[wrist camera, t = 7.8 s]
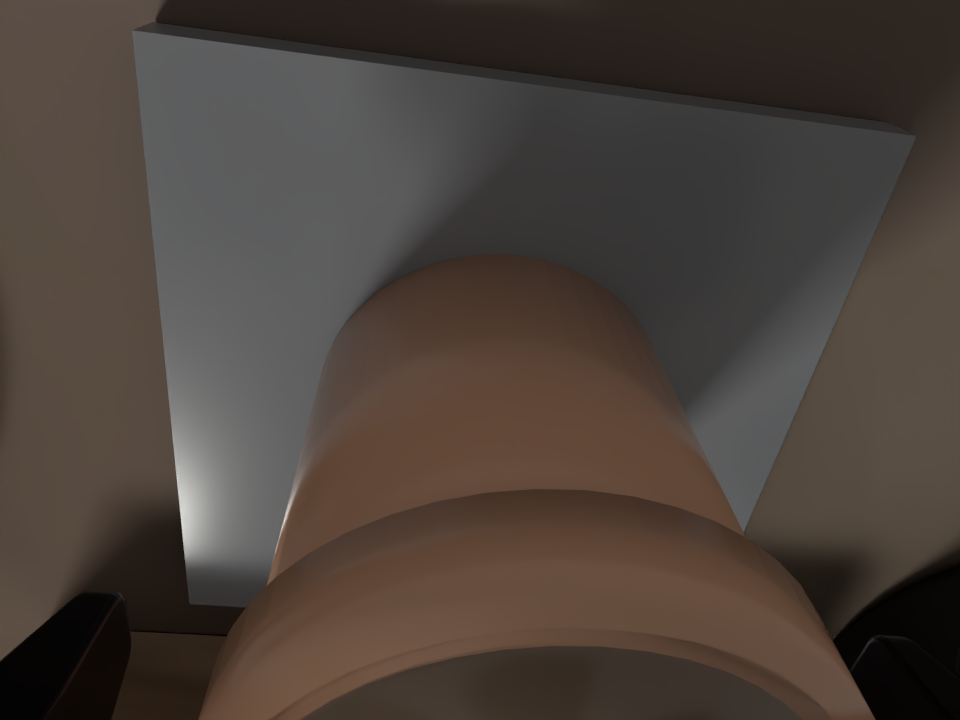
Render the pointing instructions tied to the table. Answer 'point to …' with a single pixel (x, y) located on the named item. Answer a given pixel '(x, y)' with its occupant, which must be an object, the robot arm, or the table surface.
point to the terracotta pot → (515, 530)
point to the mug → (915, 621)
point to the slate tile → (472, 243)
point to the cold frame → (167, 676)
